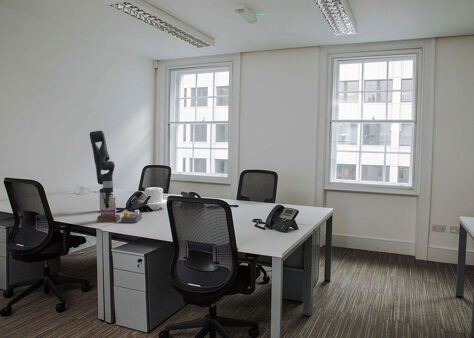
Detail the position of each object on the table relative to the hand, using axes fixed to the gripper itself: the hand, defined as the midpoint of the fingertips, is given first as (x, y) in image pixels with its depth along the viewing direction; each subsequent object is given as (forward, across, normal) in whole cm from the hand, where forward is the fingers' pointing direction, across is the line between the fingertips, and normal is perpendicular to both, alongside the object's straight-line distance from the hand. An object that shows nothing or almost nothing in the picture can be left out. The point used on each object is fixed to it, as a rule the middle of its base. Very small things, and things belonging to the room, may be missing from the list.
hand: (108, 207), depth 290 cm
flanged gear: (+11, -50, +24) cm, 57 cm away
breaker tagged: (+6, +3, +15) cm, 17 cm away
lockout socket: (+11, 0, 0) cm, 11 cm away
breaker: (+6, -5, +21) cm, 23 cm away
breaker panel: (+11, -1, +18) cm, 21 cm away
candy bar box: (+8, 0, 0) cm, 8 cm away
